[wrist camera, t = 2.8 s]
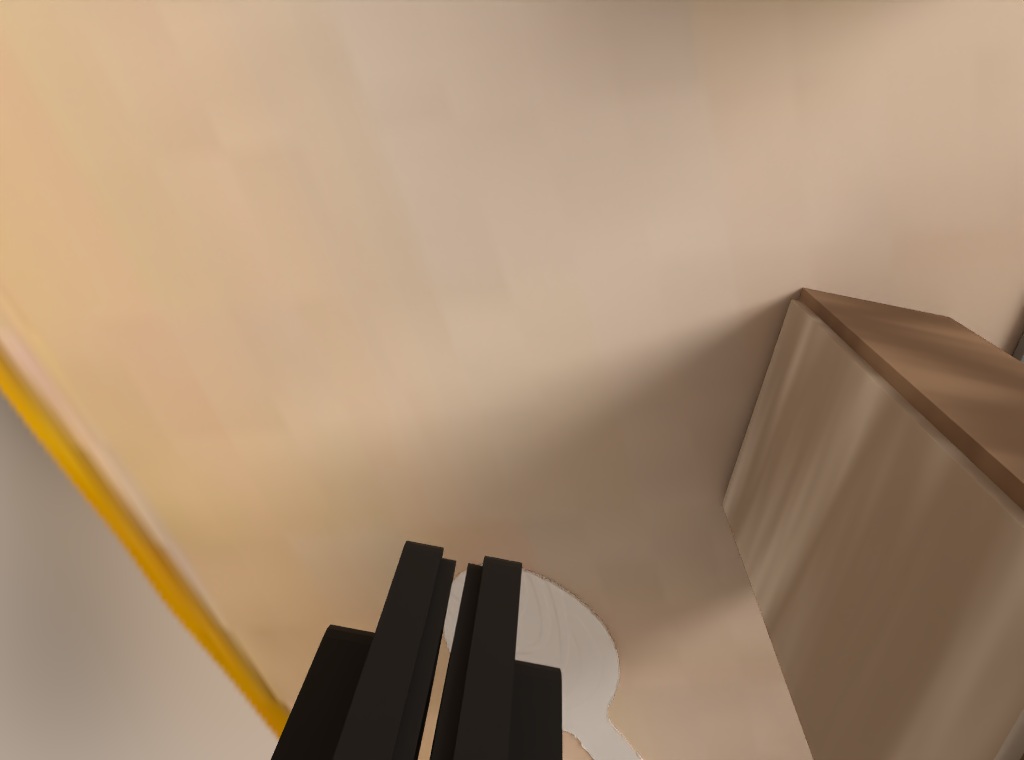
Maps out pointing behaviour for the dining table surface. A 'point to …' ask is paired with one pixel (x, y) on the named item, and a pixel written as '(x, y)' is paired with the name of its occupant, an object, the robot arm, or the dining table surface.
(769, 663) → the dining table surface
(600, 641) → the spoon
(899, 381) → the walnut box
